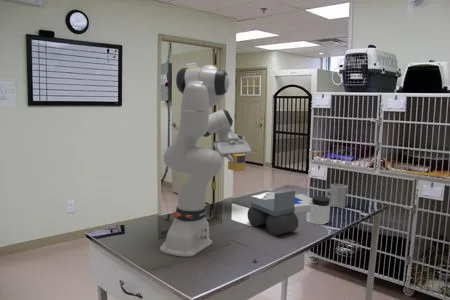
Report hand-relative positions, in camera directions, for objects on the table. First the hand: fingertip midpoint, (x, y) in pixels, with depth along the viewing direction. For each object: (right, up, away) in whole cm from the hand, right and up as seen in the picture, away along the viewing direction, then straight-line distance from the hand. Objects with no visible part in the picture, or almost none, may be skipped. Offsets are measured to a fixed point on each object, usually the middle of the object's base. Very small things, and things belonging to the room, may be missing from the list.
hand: (239, 162), depth 180 cm
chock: (-1, -4, +2) cm, 5 cm away
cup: (+56, -26, +22) cm, 65 cm away
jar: (+39, -29, -6) cm, 49 cm away
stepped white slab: (+28, -25, +21) cm, 43 cm away
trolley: (+14, -30, -17) cm, 37 cm away
